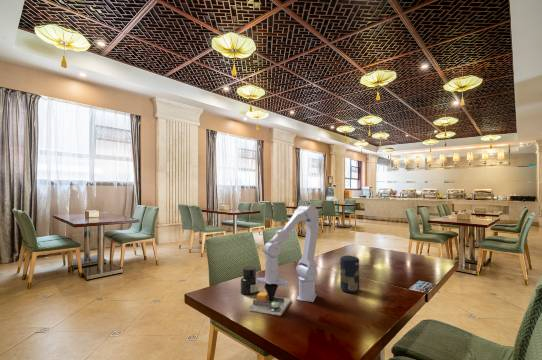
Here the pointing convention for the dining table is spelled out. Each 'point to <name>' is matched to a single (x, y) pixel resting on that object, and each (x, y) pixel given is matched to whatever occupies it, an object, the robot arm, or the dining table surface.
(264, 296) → the toggle
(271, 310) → the panel
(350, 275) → the canister
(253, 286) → the ink bottle
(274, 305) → the button
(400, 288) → the dining table surface
